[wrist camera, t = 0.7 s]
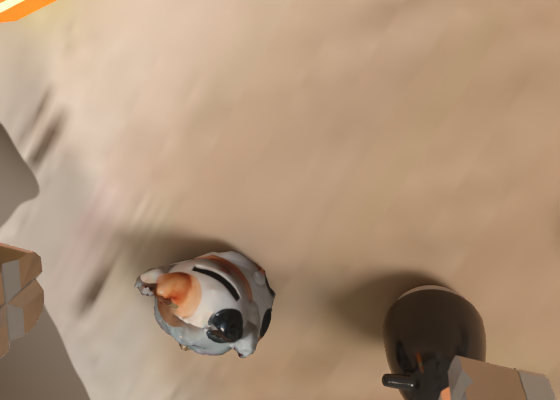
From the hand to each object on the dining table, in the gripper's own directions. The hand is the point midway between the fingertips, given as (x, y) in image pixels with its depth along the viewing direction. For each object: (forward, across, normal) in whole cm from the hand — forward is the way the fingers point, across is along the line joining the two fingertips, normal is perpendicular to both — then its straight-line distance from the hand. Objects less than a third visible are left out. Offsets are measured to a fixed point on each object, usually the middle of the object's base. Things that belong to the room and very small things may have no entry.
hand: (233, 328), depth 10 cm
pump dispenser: (+43, -13, +26) cm, 52 cm away
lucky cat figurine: (+43, +12, +29) cm, 53 cm away
